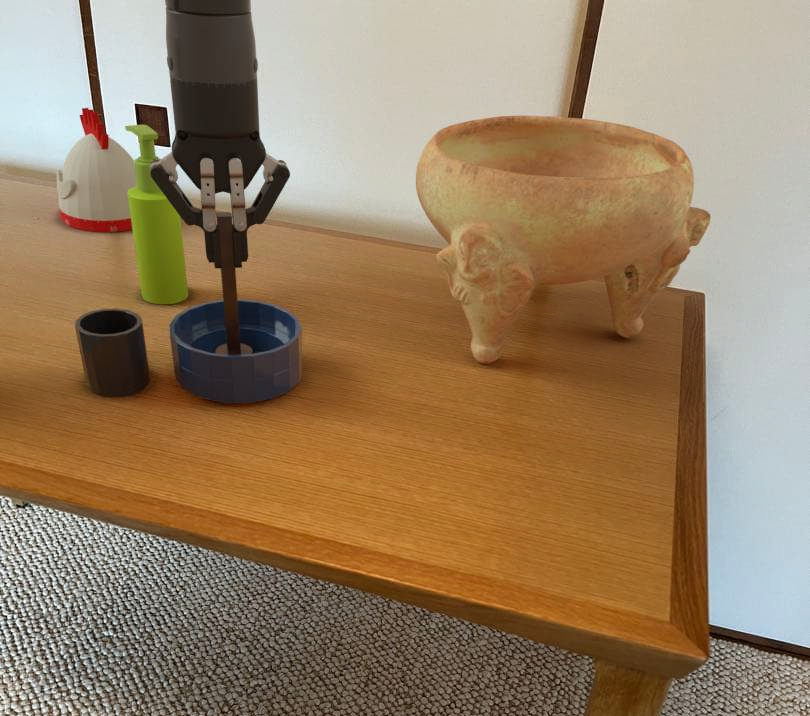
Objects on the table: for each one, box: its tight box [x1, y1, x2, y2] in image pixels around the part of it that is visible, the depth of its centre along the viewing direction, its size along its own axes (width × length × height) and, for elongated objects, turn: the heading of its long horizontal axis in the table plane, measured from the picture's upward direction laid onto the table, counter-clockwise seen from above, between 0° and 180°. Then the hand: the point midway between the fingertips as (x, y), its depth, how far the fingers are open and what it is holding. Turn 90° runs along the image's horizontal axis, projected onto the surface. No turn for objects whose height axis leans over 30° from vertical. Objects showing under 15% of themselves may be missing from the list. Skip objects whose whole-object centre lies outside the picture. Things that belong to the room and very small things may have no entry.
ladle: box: [215, 211, 253, 355], centre depth 84 cm, size 4×4×16 cm
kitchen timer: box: [55, 107, 137, 233], centre depth 123 cm, size 14×14×15 cm
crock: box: [74, 307, 151, 398], centre depth 87 cm, size 7×7×7 cm
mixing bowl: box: [169, 298, 303, 404], centre depth 90 cm, size 14×14×6 cm
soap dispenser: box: [124, 124, 189, 305], centre depth 101 cm, size 6×7×20 cm
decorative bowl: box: [415, 115, 711, 365], centre depth 101 cm, size 34×35×23 cm
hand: (227, 264), depth 82 cm, fingers closed on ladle, 1 cm apart
